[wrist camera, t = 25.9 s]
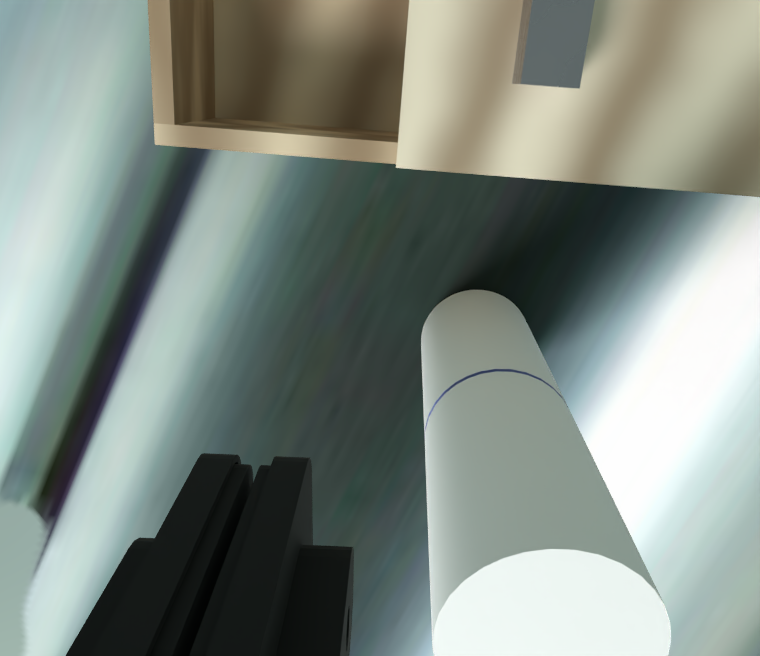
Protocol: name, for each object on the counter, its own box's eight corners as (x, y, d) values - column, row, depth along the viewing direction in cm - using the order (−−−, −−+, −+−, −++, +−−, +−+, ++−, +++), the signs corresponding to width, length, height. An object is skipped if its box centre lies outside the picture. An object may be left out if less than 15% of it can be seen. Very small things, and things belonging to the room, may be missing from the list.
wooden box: (204, 132, 39) (155, 144, 32) (197, -143, 34) (137, -207, 27) (534, 159, 39) (564, 177, 31) (577, -116, 34) (624, -173, 26)
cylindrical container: (502, 271, 41) (621, 513, 18) (545, 363, 43) (703, 688, 20) (402, 318, 43) (392, 599, 19) (449, 404, 45) (490, 754, 21)
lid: (396, 164, 31) (394, 174, 28) (425, -189, 26) (426, -230, 23) (814, 198, 31) (864, 212, 27) (924, -154, 26) (1001, -190, 22)
